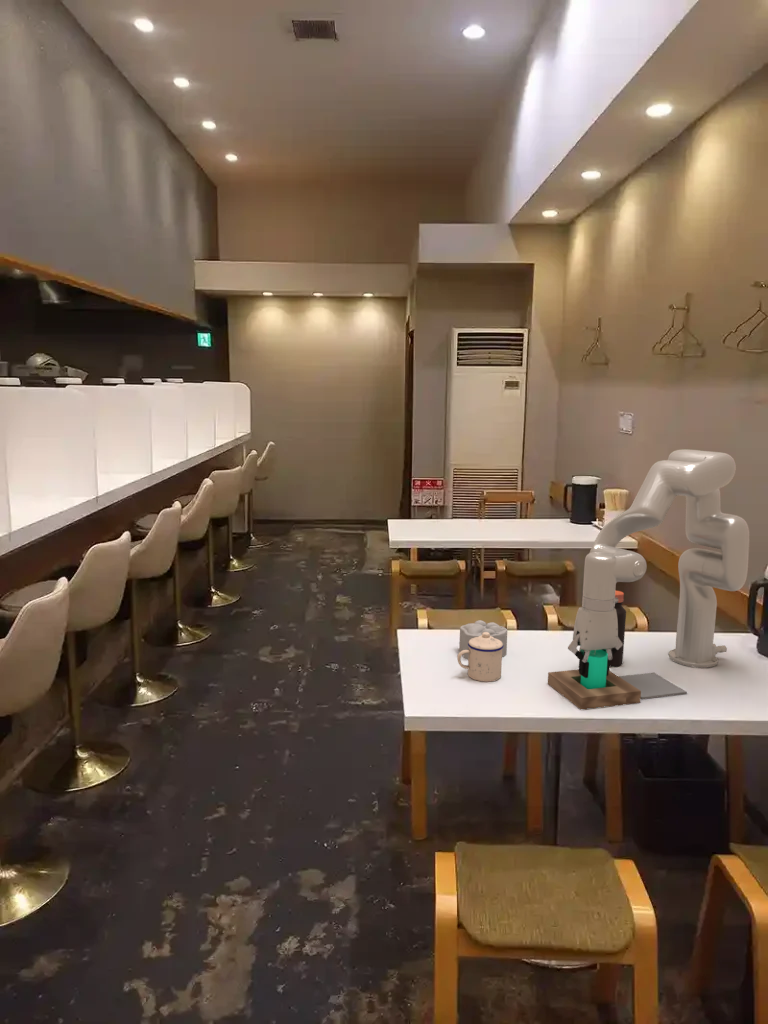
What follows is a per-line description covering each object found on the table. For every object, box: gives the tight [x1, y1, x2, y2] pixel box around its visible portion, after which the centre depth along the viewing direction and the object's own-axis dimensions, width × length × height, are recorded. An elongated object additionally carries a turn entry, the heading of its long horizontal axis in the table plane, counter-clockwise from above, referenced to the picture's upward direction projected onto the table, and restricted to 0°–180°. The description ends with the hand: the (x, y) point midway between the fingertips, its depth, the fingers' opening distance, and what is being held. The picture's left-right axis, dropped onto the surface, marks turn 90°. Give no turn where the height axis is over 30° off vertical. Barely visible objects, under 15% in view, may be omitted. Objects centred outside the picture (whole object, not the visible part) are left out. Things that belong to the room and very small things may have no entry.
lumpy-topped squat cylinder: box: [458, 619, 508, 660], centre depth 206 cm, size 10×13×9 cm
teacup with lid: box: [456, 632, 503, 683], centre depth 189 cm, size 12×9×12 cm
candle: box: [580, 650, 608, 689], centre depth 179 cm, size 6×6×12 cm
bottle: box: [609, 590, 627, 668], centre depth 199 cm, size 7×7×20 cm
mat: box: [618, 672, 688, 700], centre depth 185 cm, size 13×13×1 cm
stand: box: [547, 668, 641, 710], centre depth 180 cm, size 16×16×3 cm
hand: (593, 674), depth 180 cm, fingers closed on candle, 4 cm apart
